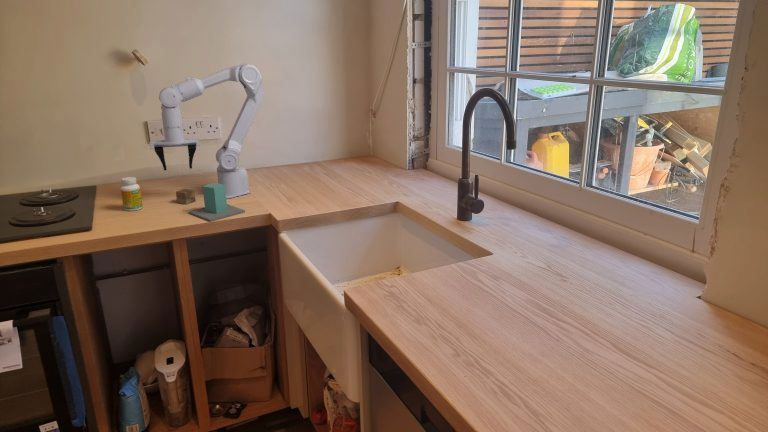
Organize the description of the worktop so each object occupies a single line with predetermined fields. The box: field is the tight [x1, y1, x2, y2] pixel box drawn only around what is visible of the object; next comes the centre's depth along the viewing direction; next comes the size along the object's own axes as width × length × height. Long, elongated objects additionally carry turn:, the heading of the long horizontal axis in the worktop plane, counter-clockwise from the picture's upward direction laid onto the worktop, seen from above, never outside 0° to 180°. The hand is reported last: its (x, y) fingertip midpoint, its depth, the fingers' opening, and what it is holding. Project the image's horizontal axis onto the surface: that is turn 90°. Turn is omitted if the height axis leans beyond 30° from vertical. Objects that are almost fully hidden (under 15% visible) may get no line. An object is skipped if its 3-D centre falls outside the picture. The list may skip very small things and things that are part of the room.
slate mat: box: [188, 204, 246, 222], centre depth 158 cm, size 12×12×1 cm
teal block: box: [202, 182, 228, 214], centre depth 157 cm, size 4×4×8 cm
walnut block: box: [175, 188, 197, 206], centre depth 168 cm, size 4×4×4 cm
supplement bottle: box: [120, 176, 143, 212], centre depth 161 cm, size 5×5×10 cm
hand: (178, 168), depth 168 cm, fingers open, 7 cm apart
